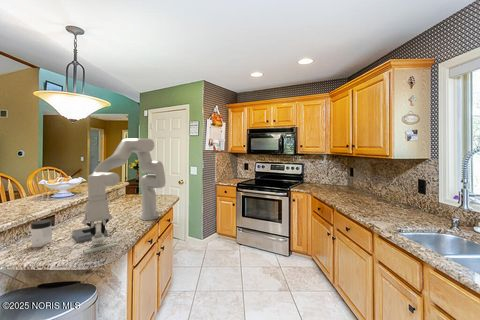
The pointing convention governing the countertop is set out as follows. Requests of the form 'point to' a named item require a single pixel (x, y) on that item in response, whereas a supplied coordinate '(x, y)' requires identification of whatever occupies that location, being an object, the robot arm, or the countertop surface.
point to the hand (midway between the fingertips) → (98, 233)
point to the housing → (84, 234)
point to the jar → (41, 233)
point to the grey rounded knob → (98, 233)
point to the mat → (99, 248)
